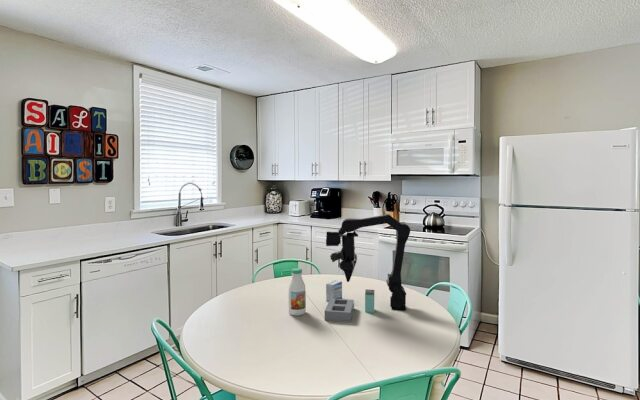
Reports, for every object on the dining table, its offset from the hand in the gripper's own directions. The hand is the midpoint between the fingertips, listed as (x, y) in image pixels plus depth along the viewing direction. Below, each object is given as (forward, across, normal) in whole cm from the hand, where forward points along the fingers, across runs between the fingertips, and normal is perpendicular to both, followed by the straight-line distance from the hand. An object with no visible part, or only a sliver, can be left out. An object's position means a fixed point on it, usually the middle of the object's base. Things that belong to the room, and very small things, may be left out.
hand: (349, 278), depth 168 cm
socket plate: (+13, +10, -4) cm, 17 cm away
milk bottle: (+13, +12, -22) cm, 29 cm away
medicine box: (+13, -8, -9) cm, 18 cm away
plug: (+13, +4, +10) cm, 17 cm away
